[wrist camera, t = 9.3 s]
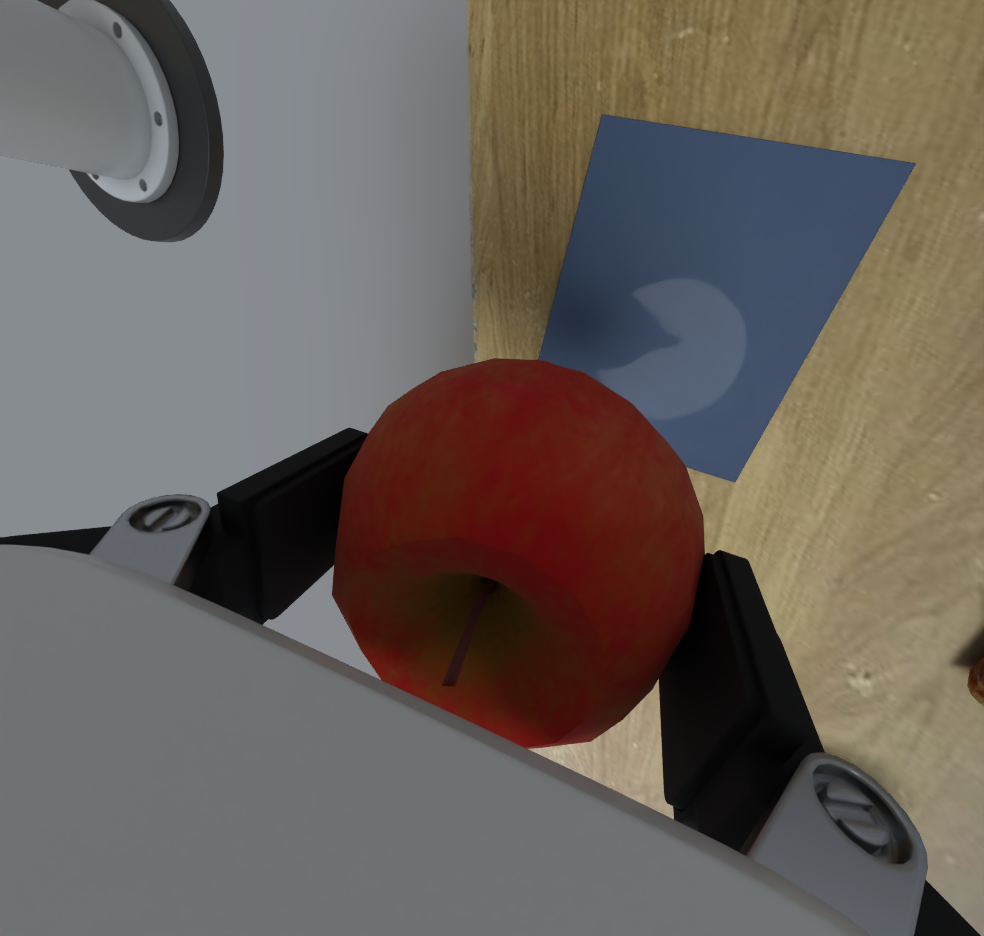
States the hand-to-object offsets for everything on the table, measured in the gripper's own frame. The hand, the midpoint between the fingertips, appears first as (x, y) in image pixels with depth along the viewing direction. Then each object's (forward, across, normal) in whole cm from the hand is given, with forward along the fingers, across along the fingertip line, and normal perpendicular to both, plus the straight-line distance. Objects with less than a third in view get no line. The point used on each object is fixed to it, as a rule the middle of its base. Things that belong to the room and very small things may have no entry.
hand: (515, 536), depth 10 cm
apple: (+7, 0, 0) cm, 7 cm away
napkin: (+24, -4, -4) cm, 25 cm away
